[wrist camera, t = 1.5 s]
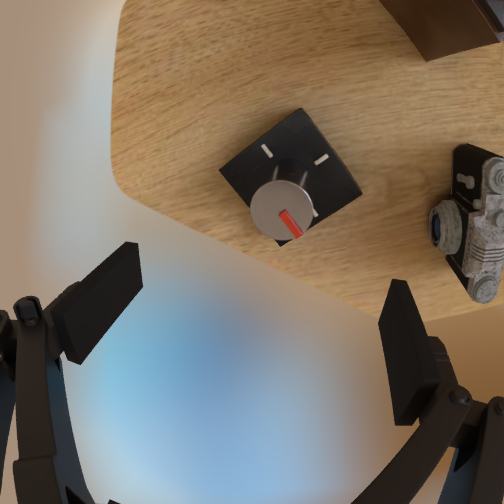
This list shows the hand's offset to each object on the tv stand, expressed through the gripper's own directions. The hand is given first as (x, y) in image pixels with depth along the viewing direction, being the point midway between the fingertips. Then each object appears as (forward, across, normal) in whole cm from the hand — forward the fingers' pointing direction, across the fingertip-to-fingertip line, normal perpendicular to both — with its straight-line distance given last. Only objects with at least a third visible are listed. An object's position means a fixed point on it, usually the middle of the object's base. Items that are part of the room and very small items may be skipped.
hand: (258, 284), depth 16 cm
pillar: (+20, +13, +21) cm, 32 cm away
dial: (+17, 0, +1) cm, 17 cm away
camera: (+20, +19, 0) cm, 27 cm away
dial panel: (+20, 0, +1) cm, 20 cm away
